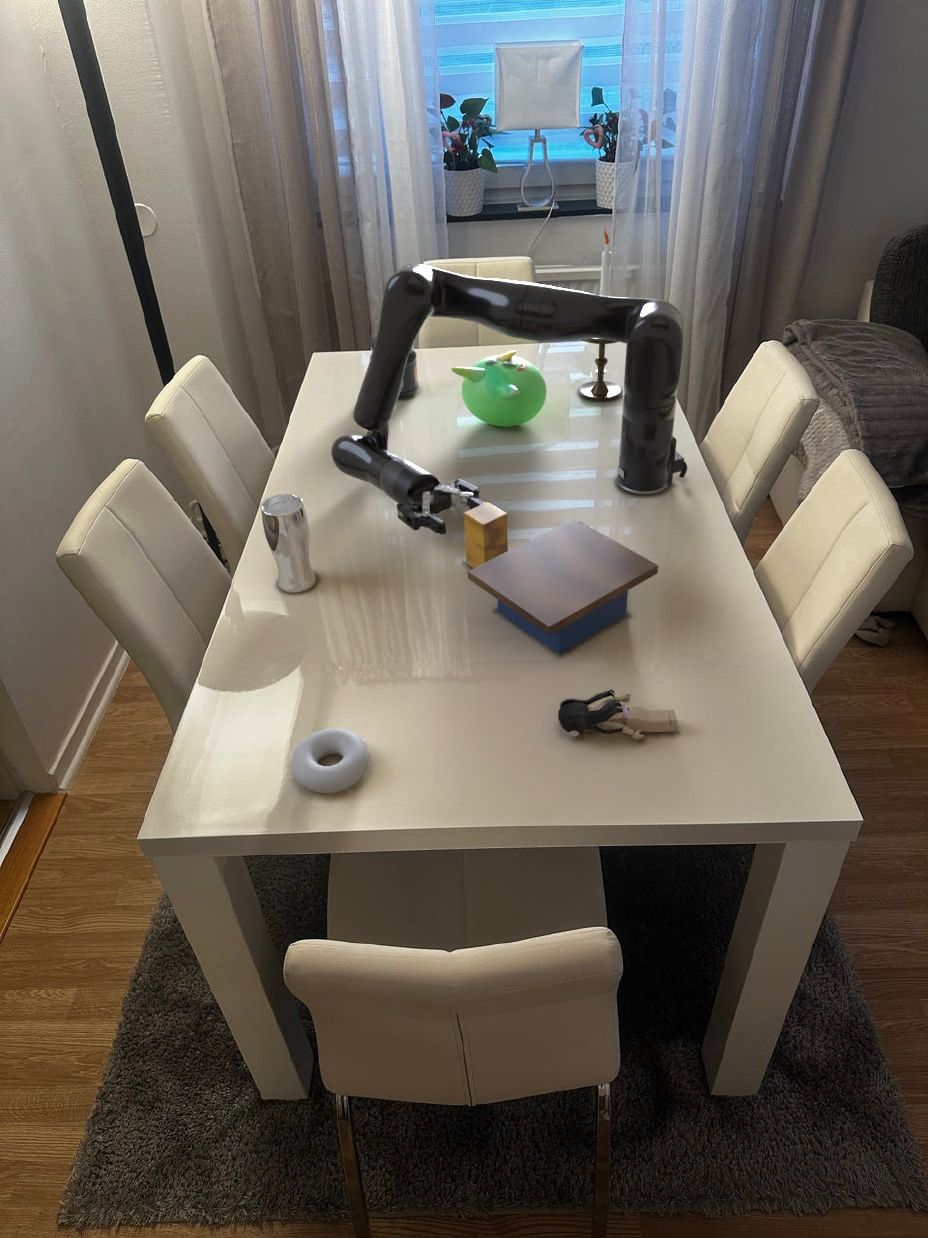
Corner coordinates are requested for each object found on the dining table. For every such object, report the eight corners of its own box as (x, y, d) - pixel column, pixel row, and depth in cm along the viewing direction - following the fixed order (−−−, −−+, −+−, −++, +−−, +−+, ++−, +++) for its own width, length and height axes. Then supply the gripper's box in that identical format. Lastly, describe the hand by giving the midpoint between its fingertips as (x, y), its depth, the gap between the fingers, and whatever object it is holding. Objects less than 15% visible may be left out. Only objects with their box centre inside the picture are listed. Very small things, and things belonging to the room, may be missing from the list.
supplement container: (419, 380, 210) (415, 330, 203) (419, 399, 202) (415, 348, 195) (375, 383, 210) (369, 333, 203) (372, 402, 202) (366, 351, 195)
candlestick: (565, 394, 200) (569, 230, 179) (594, 379, 206) (601, 218, 185) (605, 407, 194) (614, 239, 173) (633, 390, 200) (646, 226, 179)
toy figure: (659, 701, 122) (552, 710, 120) (667, 670, 117) (556, 680, 116) (674, 743, 117) (562, 753, 115) (683, 713, 112) (567, 723, 111)
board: (573, 525, 144) (574, 517, 144) (657, 573, 133) (658, 565, 132) (467, 579, 134) (467, 570, 133) (549, 635, 123) (549, 627, 122)
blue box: (563, 576, 146) (564, 540, 141) (626, 615, 137) (629, 578, 132) (497, 610, 139) (496, 574, 135) (559, 654, 130) (560, 616, 126)
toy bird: (558, 415, 192) (560, 348, 183) (520, 447, 181) (519, 378, 172) (487, 399, 200) (485, 335, 191) (446, 429, 189) (442, 362, 180)
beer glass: (325, 573, 149) (311, 495, 140) (306, 597, 144) (291, 518, 135) (288, 567, 151) (272, 490, 142) (268, 590, 146) (250, 512, 137)
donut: (282, 794, 112) (358, 803, 110) (276, 776, 110) (354, 784, 108) (308, 737, 120) (380, 745, 118) (304, 719, 117) (376, 726, 115)
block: (489, 552, 152) (487, 501, 146) (508, 564, 149) (507, 513, 143) (466, 563, 150) (463, 512, 144) (485, 576, 147) (483, 524, 140)
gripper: (373, 479, 154) (429, 516, 144) (439, 453, 161) (496, 485, 150) (378, 517, 159) (432, 554, 148) (441, 489, 165) (497, 523, 155)
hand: (464, 520), depth 149 cm, fingers open, 8 cm apart
